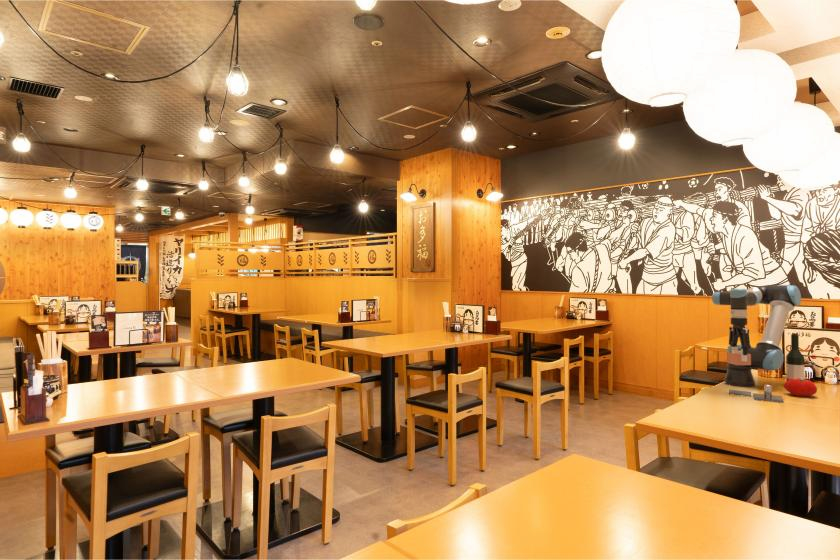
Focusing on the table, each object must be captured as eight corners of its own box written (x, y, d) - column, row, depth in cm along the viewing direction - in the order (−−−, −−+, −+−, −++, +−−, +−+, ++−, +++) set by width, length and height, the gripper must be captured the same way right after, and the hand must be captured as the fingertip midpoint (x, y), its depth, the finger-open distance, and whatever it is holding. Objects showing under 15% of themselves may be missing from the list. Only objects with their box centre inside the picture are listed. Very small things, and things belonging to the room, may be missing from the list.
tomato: (819, 395, 258) (819, 378, 258) (815, 399, 249) (815, 382, 249) (787, 391, 268) (787, 375, 268) (782, 395, 259) (782, 378, 259)
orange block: (742, 362, 267) (742, 349, 267) (751, 365, 260) (750, 351, 260) (727, 362, 268) (727, 349, 268) (736, 365, 260) (736, 351, 260)
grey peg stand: (753, 395, 260) (753, 381, 260) (781, 397, 253) (781, 384, 253) (754, 399, 249) (754, 386, 249) (783, 402, 243) (783, 388, 243)
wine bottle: (808, 387, 278) (807, 334, 278) (793, 387, 278) (792, 334, 278) (797, 384, 286) (796, 332, 286) (782, 384, 286) (782, 332, 286)
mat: (728, 390, 270) (728, 389, 270) (750, 392, 265) (750, 391, 265) (728, 394, 262) (728, 393, 262) (751, 396, 257) (751, 395, 257)
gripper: (720, 316, 274) (721, 357, 274) (743, 318, 254) (743, 363, 254) (734, 316, 274) (735, 357, 274) (758, 318, 253) (758, 363, 253)
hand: (739, 359), depth 264 cm, fingers closed on orange block, 8 cm apart
